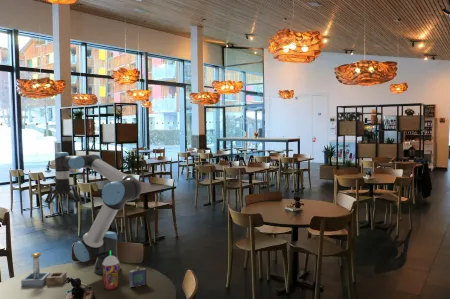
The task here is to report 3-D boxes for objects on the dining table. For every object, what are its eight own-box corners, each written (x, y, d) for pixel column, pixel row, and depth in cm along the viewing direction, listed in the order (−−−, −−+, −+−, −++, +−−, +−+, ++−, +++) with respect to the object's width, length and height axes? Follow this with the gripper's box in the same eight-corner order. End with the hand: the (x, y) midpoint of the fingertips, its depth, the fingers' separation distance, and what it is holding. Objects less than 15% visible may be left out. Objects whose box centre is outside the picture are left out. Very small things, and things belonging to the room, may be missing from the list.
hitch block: (66, 278, 217) (66, 271, 217) (61, 284, 210) (61, 277, 209) (52, 279, 217) (51, 272, 217) (46, 284, 209) (46, 277, 209)
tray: (50, 278, 218) (50, 272, 218) (42, 286, 207) (42, 279, 207) (30, 279, 217) (30, 273, 217) (21, 286, 207) (21, 280, 206)
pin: (42, 279, 215) (42, 252, 214) (39, 282, 210) (38, 255, 210) (33, 279, 214) (33, 252, 214) (30, 282, 210) (29, 255, 209)
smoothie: (114, 291, 200) (113, 253, 199) (99, 290, 201) (99, 252, 200) (121, 285, 208) (121, 248, 207) (107, 284, 210) (107, 247, 209)
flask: (130, 288, 203) (130, 268, 203) (128, 287, 206) (128, 267, 205) (147, 285, 208) (146, 265, 207) (145, 283, 210) (145, 264, 210)
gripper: (38, 179, 223) (39, 215, 223) (82, 178, 225) (83, 214, 226) (42, 178, 230) (43, 213, 231) (85, 177, 233) (86, 211, 234)
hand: (63, 213), depth 229 cm, fingers open, 13 cm apart
